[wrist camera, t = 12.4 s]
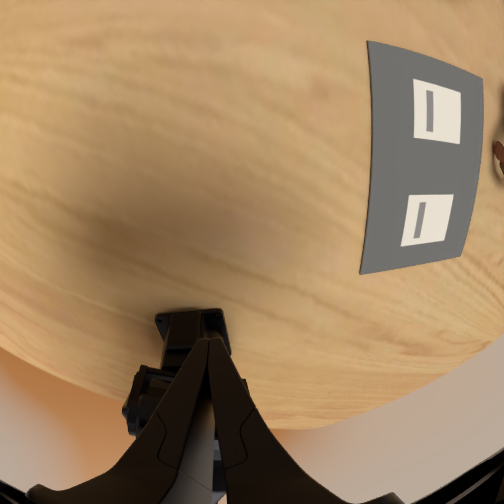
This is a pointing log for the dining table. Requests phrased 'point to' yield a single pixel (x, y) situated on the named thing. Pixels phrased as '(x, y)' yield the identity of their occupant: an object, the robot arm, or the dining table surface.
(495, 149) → the brown curved piece
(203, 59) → the dining table surface
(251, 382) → the dining table surface
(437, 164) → the label mat
